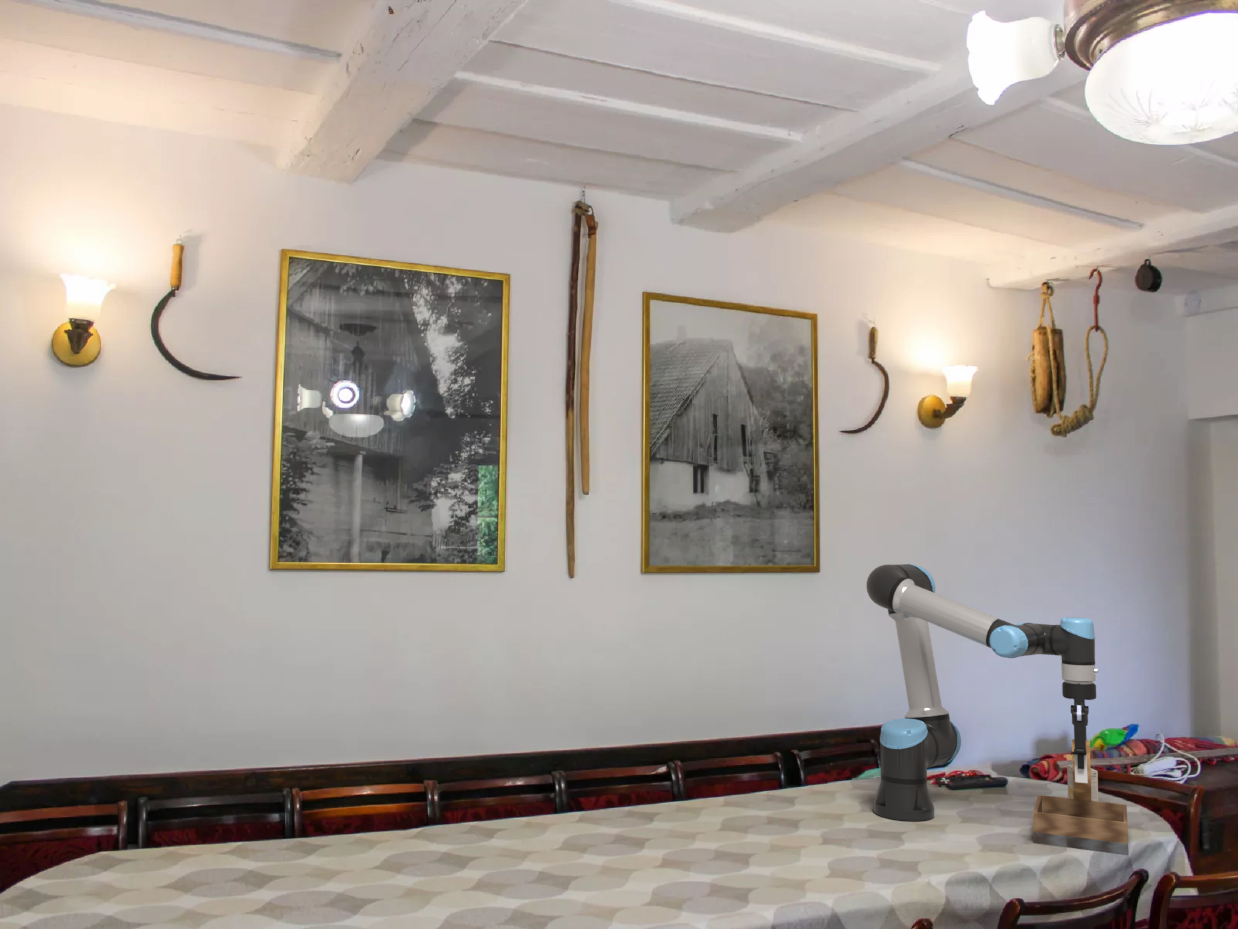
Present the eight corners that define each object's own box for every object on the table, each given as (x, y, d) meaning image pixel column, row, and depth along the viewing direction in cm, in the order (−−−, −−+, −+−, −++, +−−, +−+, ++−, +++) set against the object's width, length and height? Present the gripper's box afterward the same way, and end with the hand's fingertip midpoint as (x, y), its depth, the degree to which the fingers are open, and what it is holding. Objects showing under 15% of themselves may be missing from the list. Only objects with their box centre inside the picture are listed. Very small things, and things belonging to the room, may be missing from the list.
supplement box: (1099, 823, 263) (1098, 771, 264) (1080, 823, 263) (1079, 770, 264) (1085, 815, 271) (1085, 764, 272) (1067, 814, 271) (1066, 763, 272)
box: (1033, 842, 244) (1033, 812, 245) (1038, 823, 263) (1038, 794, 263) (1128, 855, 236) (1127, 823, 236) (1127, 833, 254) (1126, 804, 254)
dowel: (1073, 801, 249) (1071, 741, 250) (1073, 797, 252) (1071, 738, 254) (1091, 802, 247) (1089, 742, 248) (1091, 799, 251) (1089, 740, 252)
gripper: (1095, 686, 243) (1098, 789, 241) (1096, 679, 258) (1099, 775, 256) (1060, 684, 246) (1063, 785, 244) (1063, 677, 261) (1066, 772, 259)
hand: (1081, 780), depth 250 cm, fingers closed on dowel, 4 cm apart
